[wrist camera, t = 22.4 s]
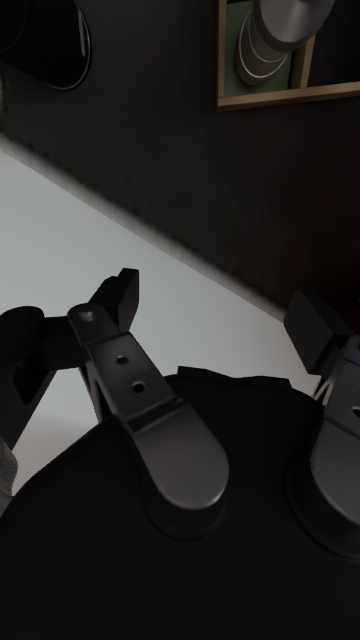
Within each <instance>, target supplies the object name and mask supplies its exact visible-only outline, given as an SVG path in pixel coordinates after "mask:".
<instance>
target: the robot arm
mask: <svg viewBox="0 0 360 640" xmlns="http://www.w3.org/2000/svg"><path fill="white" fill-rule="evenodd" d="M91 56H92V46H91V37H90V32H89V28H88V25H87V22H86V19H85V17H84V15H83V12H82V10H81V9H80V7H79V5H78V4H77V2H76V1H75V0H0V61H1V62H3V63H5V64H8V65H10V66H12V67H14V68H16V69H18V70H20V71H22V72H24V73H26V74H28V75H30V76H32V77H35V78H36V79H38V80H40V81H43V82H44V83H46V84H47V85H49V86H51V87H53V88H55V89H58V90H64V91H67V90H72V89H75V88H76V87H78V86H79V85H80V84H81V83H82V82H83V81H84V79H85V78H86V76H87V74H88V71H89V68H90V64H91ZM138 303H139V270H137V269H129V268H123V269H122V271H121V272H120V273H119V275H118V276H117V277H116V276H111V277H109V278H107V279H106V280H104V282H103V283H102V284H101V286H100V287H99V288H98V290H97V291H96V292H95V293H94V295H93V296H92V297H91V299H90V301H89V302H88V303H83V304H79V305H76V306H74V307H72V308H71V309H70V310H69V311H68V313H67V316H60V317H46V318H45V317H44V313H43V311H42V310H41V309H40V308H38V307H34V306H23V307H17V308H13V309H11V310H8V311H6V312H4V313H3V314H2V315H0V640H360V335H355V334H354V333H353V331H352V330H351V329H350V328H349V327H348V326H347V325H346V323H345V322H344V321H342V319H341V318H340V317H339V316H338V314H337V313H336V312H335V311H334V310H333V309H332V308H331V307H329V306H328V305H326V304H325V303H324V302H323V301H322V299H321V298H320V297H319V296H318V295H317V294H316V292H313V291H305V290H297V291H296V292H295V294H294V296H293V298H292V301H291V303H290V305H289V307H288V310H287V312H286V314H285V317H284V327H285V329H286V331H287V333H288V335H289V337H290V339H291V341H292V343H293V345H294V347H295V349H296V351H297V353H298V355H299V357H300V359H301V361H302V363H303V365H304V366H305V369H306V371H307V373H308V374H312V375H321V379H320V380H319V382H318V383H317V385H316V387H315V390H314V392H313V394H312V396H311V397H310V396H309V395H307V394H305V393H303V392H301V391H298V390H296V389H293V388H292V386H291V384H290V381H289V379H285V378H277V377H269V376H253V377H242V378H232V377H229V376H226V375H222V374H220V373H216V372H213V371H210V370H207V369H201V368H193V367H185V366H178V372H177V374H173V375H168V376H164V377H163V376H162V375H161V373H160V372H159V370H158V369H157V368H156V366H155V365H154V364H153V362H152V361H151V359H150V358H149V357H148V355H147V354H146V353H145V351H144V350H143V349H142V347H141V346H140V345H139V343H138V342H137V341H136V339H135V338H134V336H133V335H132V334H131V333H130V332H129V329H130V326H131V323H132V321H133V318H134V316H135V314H136V311H137V308H138ZM77 367H78V368H79V371H80V373H81V375H82V378H83V380H84V382H85V385H86V387H87V390H88V393H89V395H90V397H91V400H92V403H93V406H94V409H95V413H96V416H97V419H98V421H99V423H98V424H97V425H96V426H95V427H93V428H92V429H91V430H90V431H88V432H87V433H86V434H85V435H83V436H82V437H81V438H80V439H78V440H77V441H76V442H75V443H73V444H72V445H71V446H70V447H68V448H67V449H66V450H65V451H63V452H62V453H61V454H60V455H58V456H57V457H56V458H55V459H53V460H52V461H51V462H50V463H48V464H47V465H46V466H45V467H43V468H42V469H41V470H40V471H38V472H37V473H36V474H35V475H34V476H32V477H31V478H30V479H29V480H28V481H27V482H26V483H25V484H24V485H23V486H22V487H21V489H20V490H19V491H18V492H17V493H16V495H15V496H12V486H13V482H14V479H15V477H16V474H17V469H18V464H17V460H16V458H15V456H14V455H13V453H12V452H11V451H12V450H13V448H14V446H15V445H16V443H17V441H18V439H19V437H20V436H21V434H22V432H23V430H24V429H25V427H26V425H27V423H28V421H29V420H30V418H31V416H32V414H33V412H34V411H35V409H36V407H37V406H38V404H39V402H40V400H41V398H42V397H43V395H44V393H45V391H46V390H47V388H48V386H49V384H50V382H51V381H52V379H53V377H54V375H55V374H56V372H57V370H61V369H69V368H77Z"/></svg>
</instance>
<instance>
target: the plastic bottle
mask: <svg viewBox="0 0 360 640" xmlns="http://www.w3.org/2000/svg"><path fill="white" fill-rule="evenodd" d="M334 2H335V0H253V6H252V8H251V9H250V10H249V12H248V13H247V14H246V16H245V17H244V19H243V21H242V23H241V25H240V27H239V30H238V33H237V36H236V41H235V50H234V55H235V64H236V69H237V71H238V74H239V76H240V77H241V79H242V80H243V81H244V82H245V83H247V84H249V85H253V86H256V85H262V84H265V83H267V82H269V81H270V80H271V79H272V78H274V77H275V76H276V75H277V73H278V72H279V71H280V69H281V68H282V66H283V64H284V62H285V60H286V58H287V56H288V54H289V53H290V52H292V51H294V50H296V49H298V48H299V47H301V46H302V45H304V44H305V43H306V42H307V41H308V40H310V39H311V38H312V37H313V36H314V35H315V34H316V32H317V31H318V30H319V29H320V27H321V26H322V25H323V23H324V21H325V20H326V18H327V17H328V15H329V13H330V11H331V8H332V6H333V4H334Z"/></svg>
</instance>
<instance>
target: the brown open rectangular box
mask: <svg viewBox="0 0 360 640" xmlns="http://www.w3.org/2000/svg"><path fill="white" fill-rule="evenodd" d="M226 1H229V0H217V23H216V112H220V111H229V110H238V109H247V108H256V107H265V106H274V105H283V104H292V103H301V102H310V101H319V100H328V99H337V98H346V97H355V96H360V82H351V83H342V84H334V85H325V86H317V87H308V88H306V87H307V81H308V75H309V69H310V63H311V57H312V51H313V45H314V39H315V35H314V36H313V37H312V38H311V39H310V40H308V41H307V42H306V43H305V44H304V45H302V46H301V47H299V48H298V49H296V50H295V51H294V59H293V66H292V73H291V80H290V88H289V90H287V87H288V79H289V72H290V65H291V57H292V52H290V53H289V54H288V56H287V58H286V60H285V62H284V64H283V66H282V68H281V69H280V71H279V72H278V73H277V75H276V76H275V77H274V78H272V79H271V80H270V81H269V82H267V83H265V84H262V85H256V86H253V85H249V84H247V83H245V82H244V81H243V80H242V79H241V77H240V76H239V74H238V71H237V69H236V64H235V55H234V50H235V41H236V36H237V33H238V30H239V27H240V25H241V23H242V21H243V19H244V17H245V16H246V14H247V13H248V12H249V10H250V9H251V8H252V6H253V0H252V1H245V2H239V3H233V4H226Z"/></svg>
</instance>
